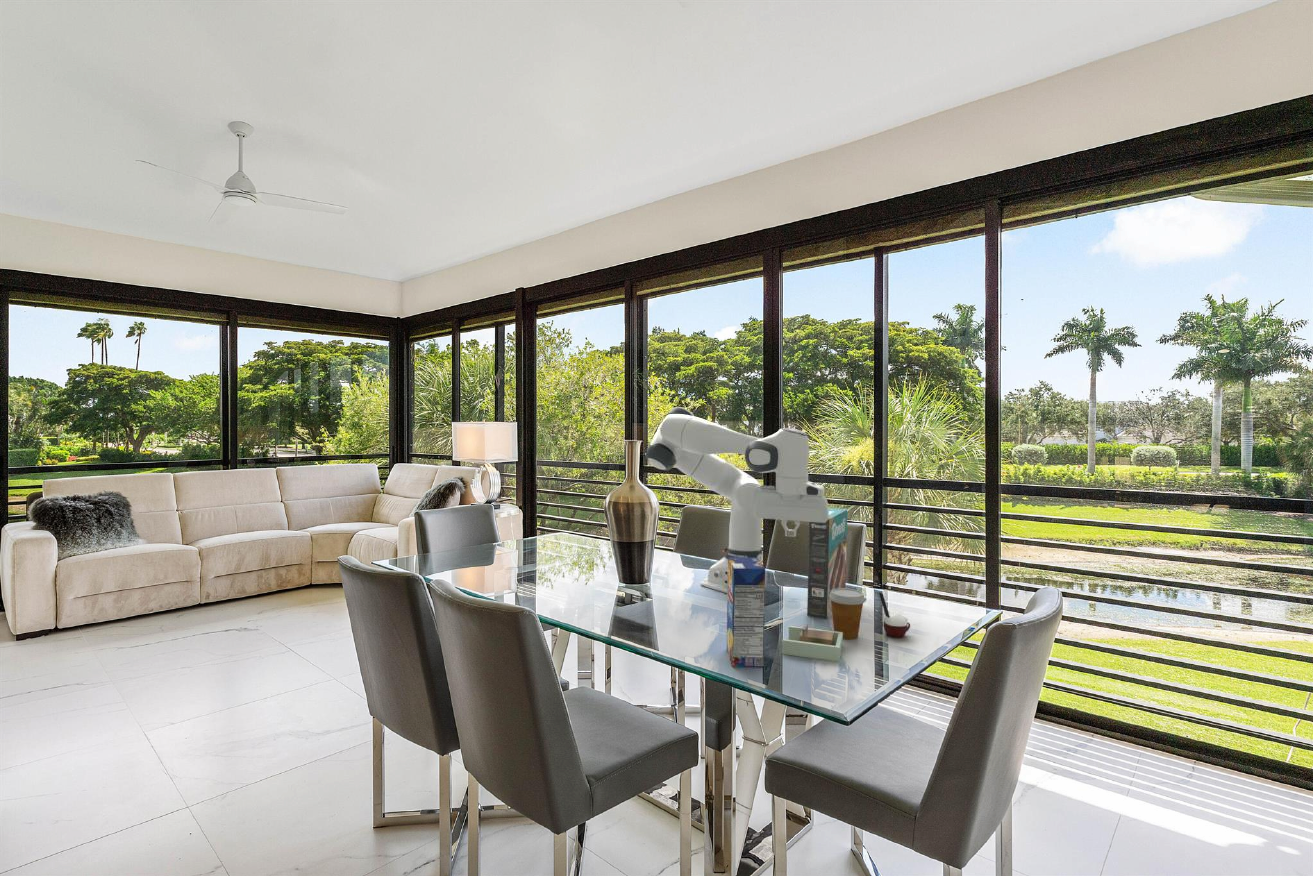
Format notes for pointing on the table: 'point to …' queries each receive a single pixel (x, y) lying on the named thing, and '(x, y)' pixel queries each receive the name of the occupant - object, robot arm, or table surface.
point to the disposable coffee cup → (846, 611)
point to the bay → (812, 646)
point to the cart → (816, 636)
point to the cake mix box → (826, 561)
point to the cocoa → (894, 621)
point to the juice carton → (745, 612)
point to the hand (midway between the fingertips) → (790, 536)
